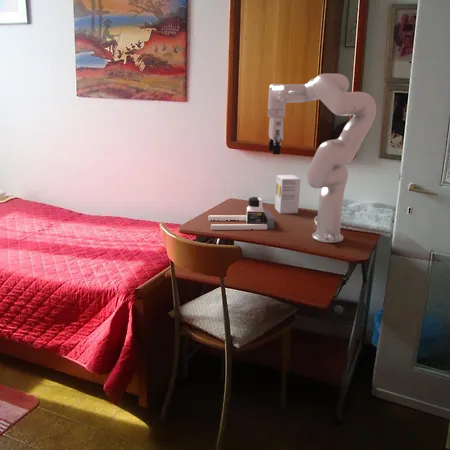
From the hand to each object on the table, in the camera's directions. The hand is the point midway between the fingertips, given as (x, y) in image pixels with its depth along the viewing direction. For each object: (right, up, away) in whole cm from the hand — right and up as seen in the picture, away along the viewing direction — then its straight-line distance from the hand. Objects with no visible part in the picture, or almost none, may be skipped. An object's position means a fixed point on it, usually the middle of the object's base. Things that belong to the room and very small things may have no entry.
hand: (274, 152), depth 238 cm
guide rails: (-17, -32, -3) cm, 36 cm away
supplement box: (+8, -26, +21) cm, 34 cm away
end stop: (-3, -32, -1) cm, 32 cm away
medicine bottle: (-9, -32, -1) cm, 33 cm away
